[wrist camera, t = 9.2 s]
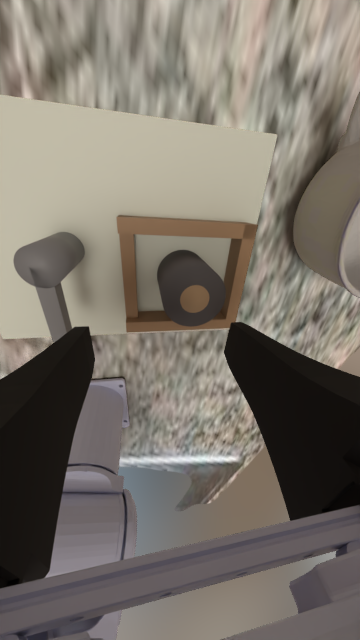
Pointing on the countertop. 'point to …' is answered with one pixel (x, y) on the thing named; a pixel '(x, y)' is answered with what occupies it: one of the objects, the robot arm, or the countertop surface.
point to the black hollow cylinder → (189, 289)
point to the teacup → (334, 214)
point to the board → (118, 215)
